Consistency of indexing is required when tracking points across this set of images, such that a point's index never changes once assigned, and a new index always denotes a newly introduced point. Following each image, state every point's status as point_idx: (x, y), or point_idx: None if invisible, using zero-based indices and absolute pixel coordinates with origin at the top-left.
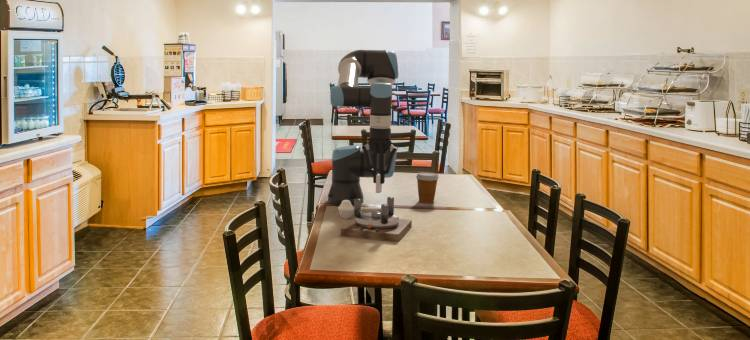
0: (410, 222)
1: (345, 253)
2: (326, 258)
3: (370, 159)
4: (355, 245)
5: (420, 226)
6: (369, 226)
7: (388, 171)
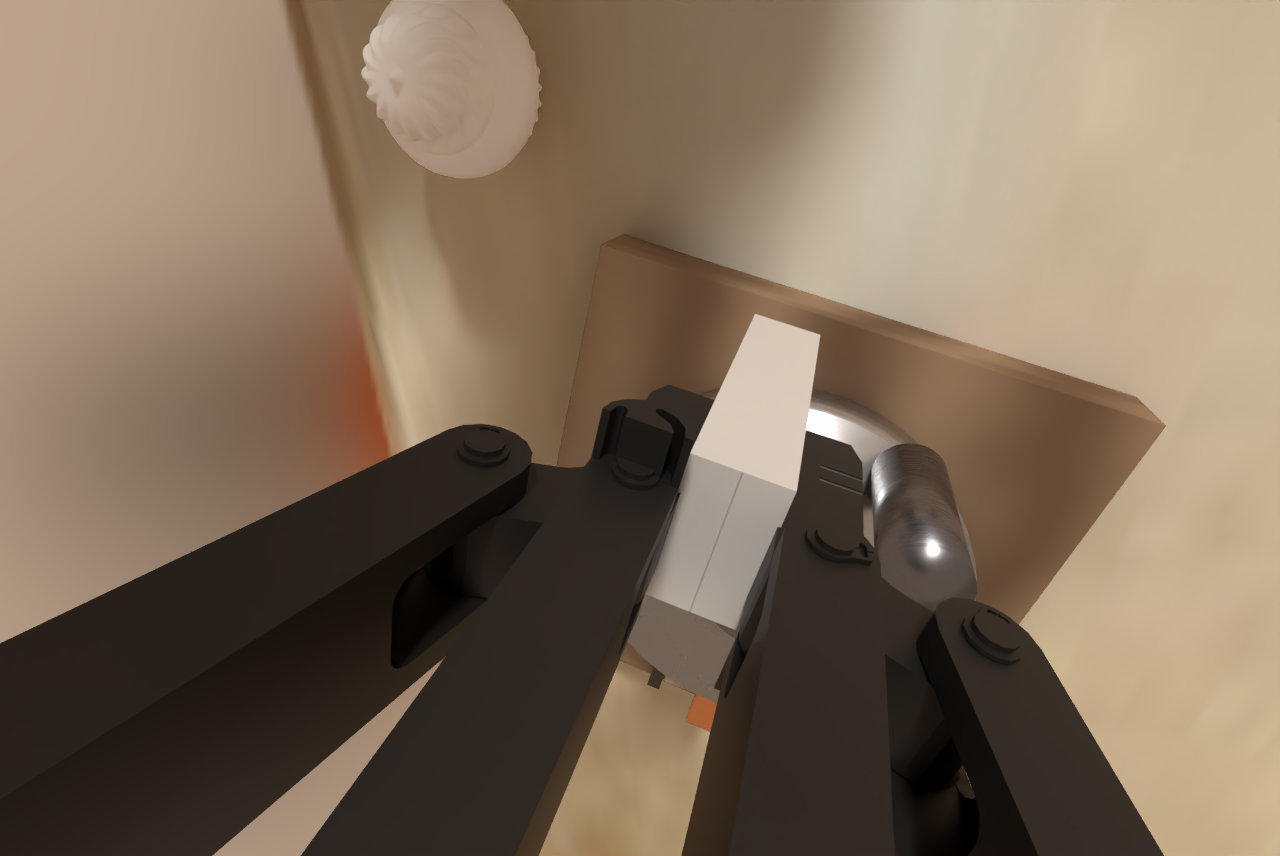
0: (1124, 469)
1: (609, 821)
2: (544, 848)
3: (197, 764)
4: (645, 742)
5: (1256, 380)
6: (701, 723)
7: (950, 808)
